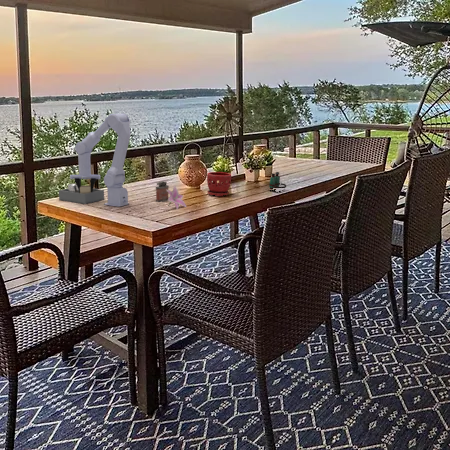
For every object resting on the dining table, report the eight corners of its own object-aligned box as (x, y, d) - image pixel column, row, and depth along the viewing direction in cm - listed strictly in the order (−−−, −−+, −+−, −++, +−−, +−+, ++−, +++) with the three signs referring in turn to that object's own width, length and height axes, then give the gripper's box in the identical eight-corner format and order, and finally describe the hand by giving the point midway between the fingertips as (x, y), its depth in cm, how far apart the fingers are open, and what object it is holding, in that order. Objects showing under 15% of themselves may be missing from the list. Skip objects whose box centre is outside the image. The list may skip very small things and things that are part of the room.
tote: (104, 199, 264) (103, 189, 263) (85, 204, 253) (85, 194, 252) (78, 195, 272) (78, 186, 271) (59, 200, 261) (58, 190, 260)
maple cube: (90, 197, 258) (90, 187, 256) (80, 197, 257) (79, 187, 256) (91, 195, 263) (91, 185, 261) (81, 195, 262) (81, 185, 261)
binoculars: (283, 176, 286) (267, 172, 291) (280, 194, 289) (265, 190, 294) (291, 174, 293) (275, 171, 298) (288, 192, 296) (273, 188, 301)
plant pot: (217, 198, 273) (218, 176, 270) (202, 194, 282) (202, 172, 279) (235, 195, 281) (236, 173, 278) (220, 191, 290) (220, 170, 287)
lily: (163, 212, 244) (172, 196, 240) (155, 198, 252) (164, 182, 248) (184, 217, 251) (193, 201, 248) (175, 203, 259) (184, 188, 256)
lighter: (165, 199, 269) (165, 180, 266) (170, 199, 267) (170, 180, 264) (154, 201, 263) (154, 181, 260) (159, 202, 261) (158, 182, 258)
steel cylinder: (81, 197, 265) (79, 183, 263) (76, 198, 260) (75, 185, 259) (72, 197, 266) (70, 183, 264) (67, 198, 261) (66, 185, 260)
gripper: (68, 167, 252) (69, 194, 255) (98, 167, 253) (99, 194, 257) (70, 165, 258) (72, 192, 262) (100, 165, 260) (101, 191, 263)
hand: (86, 193), depth 260 cm, fingers closed on maple cube, 5 cm apart
